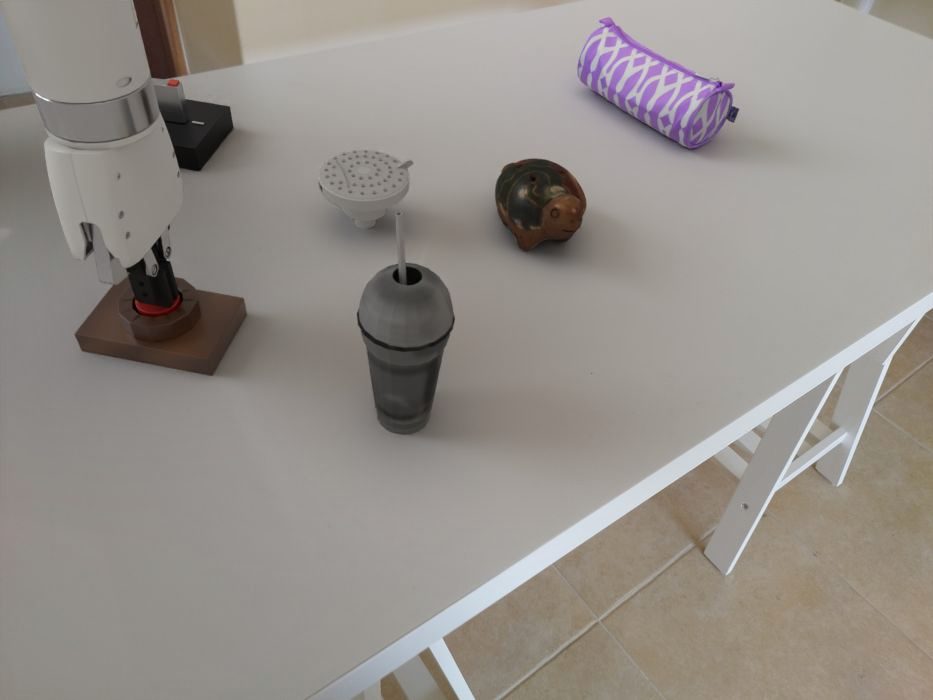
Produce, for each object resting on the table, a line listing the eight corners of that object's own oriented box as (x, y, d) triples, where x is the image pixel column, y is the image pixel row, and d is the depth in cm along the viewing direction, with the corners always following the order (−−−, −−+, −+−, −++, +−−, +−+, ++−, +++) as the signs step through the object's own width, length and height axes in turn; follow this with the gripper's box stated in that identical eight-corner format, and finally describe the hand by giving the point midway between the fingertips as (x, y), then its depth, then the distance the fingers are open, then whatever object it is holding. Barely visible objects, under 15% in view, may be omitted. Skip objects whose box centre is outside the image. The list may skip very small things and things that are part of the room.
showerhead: (427, 184, 74) (329, 198, 71) (424, 241, 79) (332, 256, 76) (399, 135, 80) (308, 146, 77) (398, 192, 85) (312, 204, 82)
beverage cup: (390, 462, 59) (392, 272, 45) (344, 403, 63) (332, 210, 49) (462, 423, 63) (486, 234, 48) (415, 369, 66) (423, 179, 52)
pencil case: (728, 142, 99) (754, 74, 93) (688, 163, 95) (711, 94, 88) (605, 76, 110) (620, 12, 103) (563, 92, 105) (576, 26, 98)
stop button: (132, 323, 64) (127, 308, 63) (151, 296, 67) (147, 281, 65) (171, 330, 64) (167, 316, 63) (189, 303, 66) (186, 289, 65)
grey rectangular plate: (138, 117, 86) (128, 78, 83) (143, 111, 87) (134, 73, 84) (184, 123, 86) (176, 85, 82) (189, 117, 87) (181, 79, 83)
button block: (81, 351, 65) (67, 318, 62) (126, 292, 70) (115, 259, 67) (212, 376, 64) (204, 344, 61) (247, 314, 69) (241, 283, 67)
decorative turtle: (534, 282, 76) (539, 217, 70) (467, 209, 86) (467, 146, 80) (611, 256, 79) (623, 192, 74) (538, 189, 89) (543, 127, 83)
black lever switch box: (101, 154, 86) (93, 129, 83) (142, 112, 92) (136, 89, 90) (199, 171, 85) (194, 147, 82) (233, 128, 92) (230, 104, 89)
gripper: (103, 49, 56) (157, 240, 69) (-21, 149, 46) (70, 352, 59) (197, 64, 56) (233, 254, 69) (93, 169, 45) (159, 368, 59)
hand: (158, 299), depth 64 cm, fingers closed
